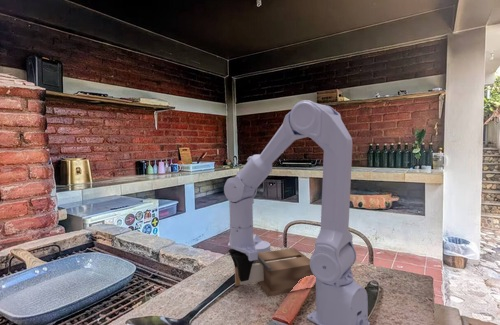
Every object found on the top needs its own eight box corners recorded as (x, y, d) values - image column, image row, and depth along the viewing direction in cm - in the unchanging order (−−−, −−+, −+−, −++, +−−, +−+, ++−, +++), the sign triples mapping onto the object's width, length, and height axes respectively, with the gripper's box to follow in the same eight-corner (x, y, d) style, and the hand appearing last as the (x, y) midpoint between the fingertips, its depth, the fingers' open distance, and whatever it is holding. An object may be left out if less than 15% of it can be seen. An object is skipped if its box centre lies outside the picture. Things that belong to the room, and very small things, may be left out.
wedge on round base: (227, 255, 94) (263, 261, 88) (227, 235, 93) (263, 240, 88) (240, 246, 102) (274, 251, 96) (240, 228, 101) (274, 232, 96)
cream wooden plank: (296, 273, 76) (296, 257, 76) (298, 274, 75) (297, 258, 75) (235, 283, 71) (234, 266, 71) (236, 285, 70) (235, 268, 70)
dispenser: (294, 268, 82) (294, 245, 82) (316, 287, 71) (315, 260, 71) (251, 275, 78) (251, 251, 78) (267, 296, 67) (267, 268, 67)
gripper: (269, 230, 65) (270, 288, 66) (245, 217, 79) (246, 265, 79) (240, 234, 63) (242, 294, 63) (221, 220, 76) (222, 269, 77)
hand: (243, 278), depth 71 cm, fingers closed on cream wooden plank
